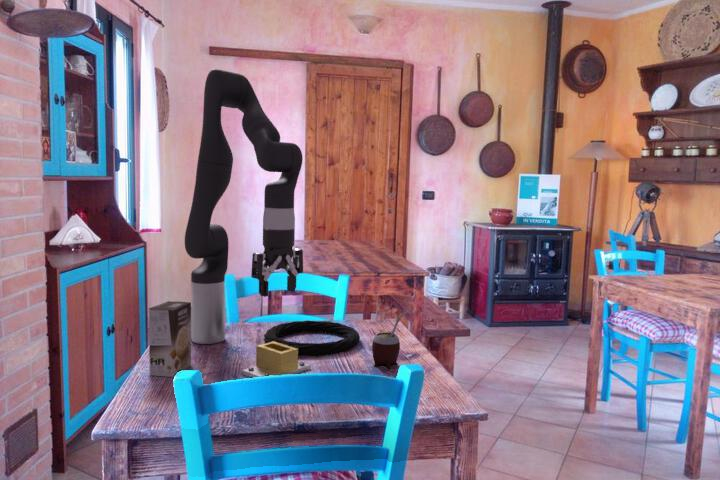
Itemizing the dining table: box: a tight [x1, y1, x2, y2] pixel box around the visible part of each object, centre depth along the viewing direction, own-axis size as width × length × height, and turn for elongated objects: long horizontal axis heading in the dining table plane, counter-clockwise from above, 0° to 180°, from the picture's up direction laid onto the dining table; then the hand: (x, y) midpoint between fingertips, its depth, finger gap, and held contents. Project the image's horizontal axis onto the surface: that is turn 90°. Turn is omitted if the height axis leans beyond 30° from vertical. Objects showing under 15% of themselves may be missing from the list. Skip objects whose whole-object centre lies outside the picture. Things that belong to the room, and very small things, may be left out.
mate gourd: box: [371, 310, 410, 371], centre depth 140 cm, size 8×8×15 cm
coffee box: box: [148, 300, 192, 378], centre depth 134 cm, size 9×6×16 cm
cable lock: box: [263, 320, 361, 357], centre depth 159 cm, size 28×4×30 cm
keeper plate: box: [241, 360, 311, 378], centre depth 135 cm, size 14×9×4 cm, turn 140°
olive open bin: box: [255, 341, 299, 374], centre depth 135 cm, size 9×5×5 cm, turn 50°
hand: (277, 293), depth 134 cm, fingers open, 8 cm apart
